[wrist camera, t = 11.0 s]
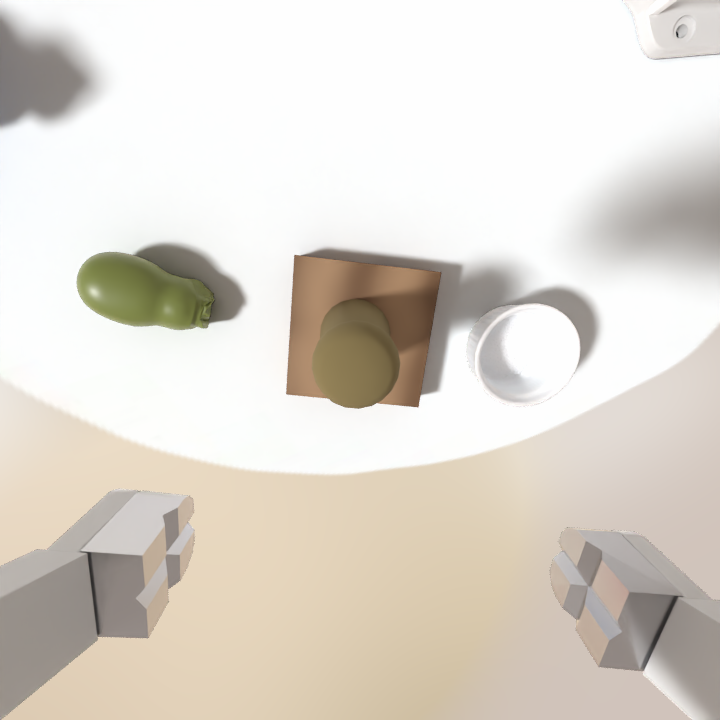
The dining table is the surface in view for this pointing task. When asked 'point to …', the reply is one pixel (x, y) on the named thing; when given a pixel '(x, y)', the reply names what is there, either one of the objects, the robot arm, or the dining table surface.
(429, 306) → the walnut block
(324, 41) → the dining table surface
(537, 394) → the ramekin
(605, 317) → the dining table surface
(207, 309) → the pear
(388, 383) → the pepper mill
